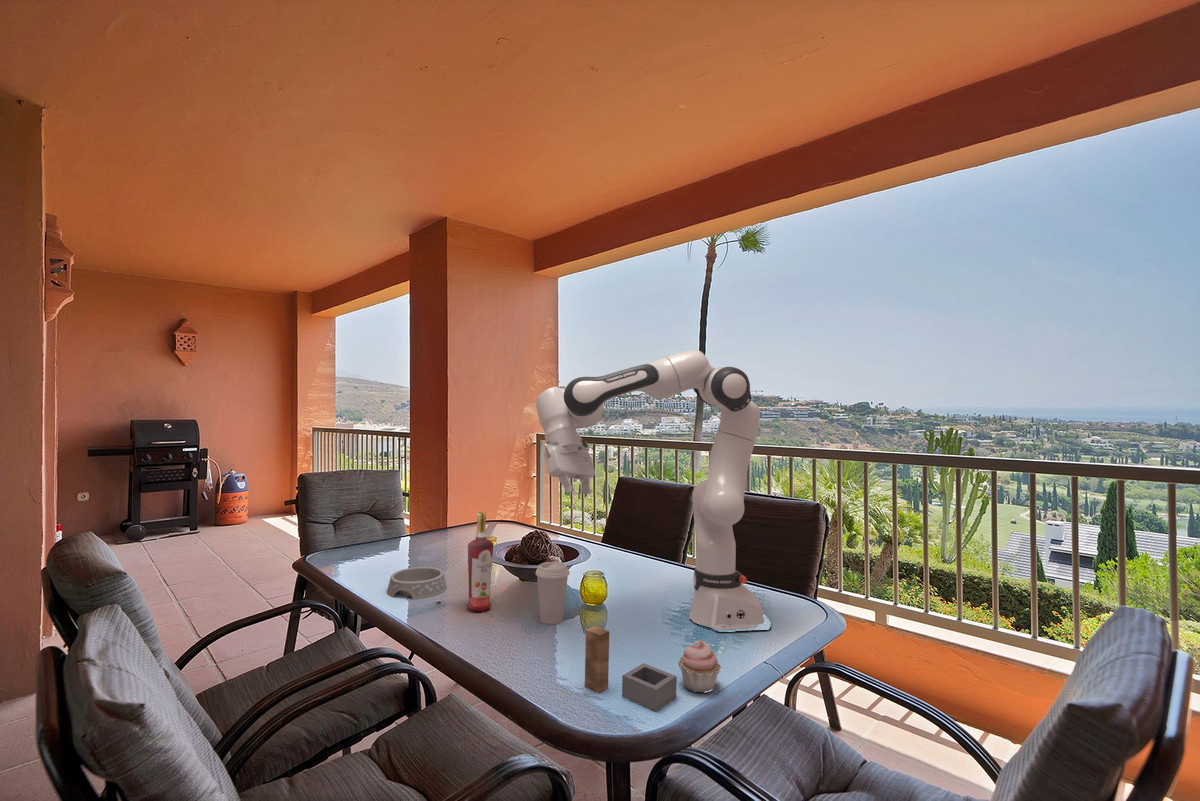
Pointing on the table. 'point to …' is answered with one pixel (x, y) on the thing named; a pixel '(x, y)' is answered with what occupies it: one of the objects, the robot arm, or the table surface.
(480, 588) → the liquor
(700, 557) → the robot arm
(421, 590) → the dog bowl
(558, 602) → the coffee cup
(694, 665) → the cupcake
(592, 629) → the brown wooden block
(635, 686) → the end cap
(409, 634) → the table surface
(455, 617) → the table surface
